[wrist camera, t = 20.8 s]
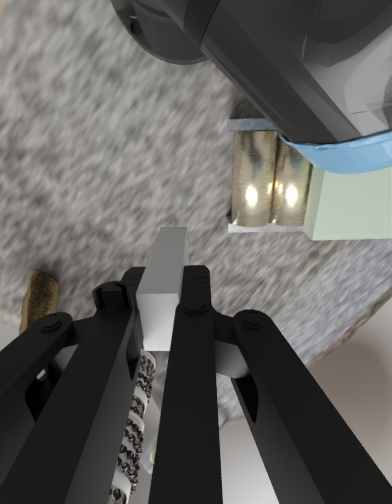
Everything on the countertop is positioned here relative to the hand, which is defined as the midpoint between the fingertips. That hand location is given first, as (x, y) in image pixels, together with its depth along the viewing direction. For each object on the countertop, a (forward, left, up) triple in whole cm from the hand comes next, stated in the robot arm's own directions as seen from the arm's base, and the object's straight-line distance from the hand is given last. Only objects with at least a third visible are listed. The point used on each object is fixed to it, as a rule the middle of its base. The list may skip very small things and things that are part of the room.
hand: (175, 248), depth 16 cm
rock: (+20, -25, -23) cm, 39 cm away
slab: (0, +21, -18) cm, 27 cm away
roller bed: (0, +13, -22) cm, 26 cm away
